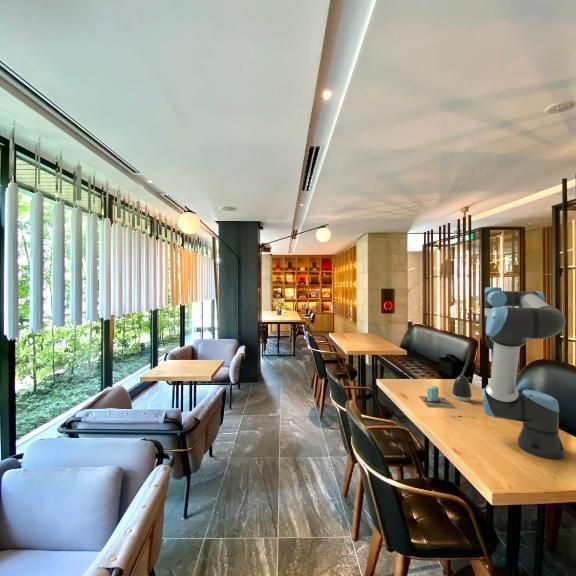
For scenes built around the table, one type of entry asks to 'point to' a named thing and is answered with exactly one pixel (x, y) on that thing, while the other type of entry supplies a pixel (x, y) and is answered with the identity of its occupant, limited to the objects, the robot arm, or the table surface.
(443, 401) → the board
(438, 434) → the table surface
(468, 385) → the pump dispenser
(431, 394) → the cap
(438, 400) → the post
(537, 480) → the table surface
